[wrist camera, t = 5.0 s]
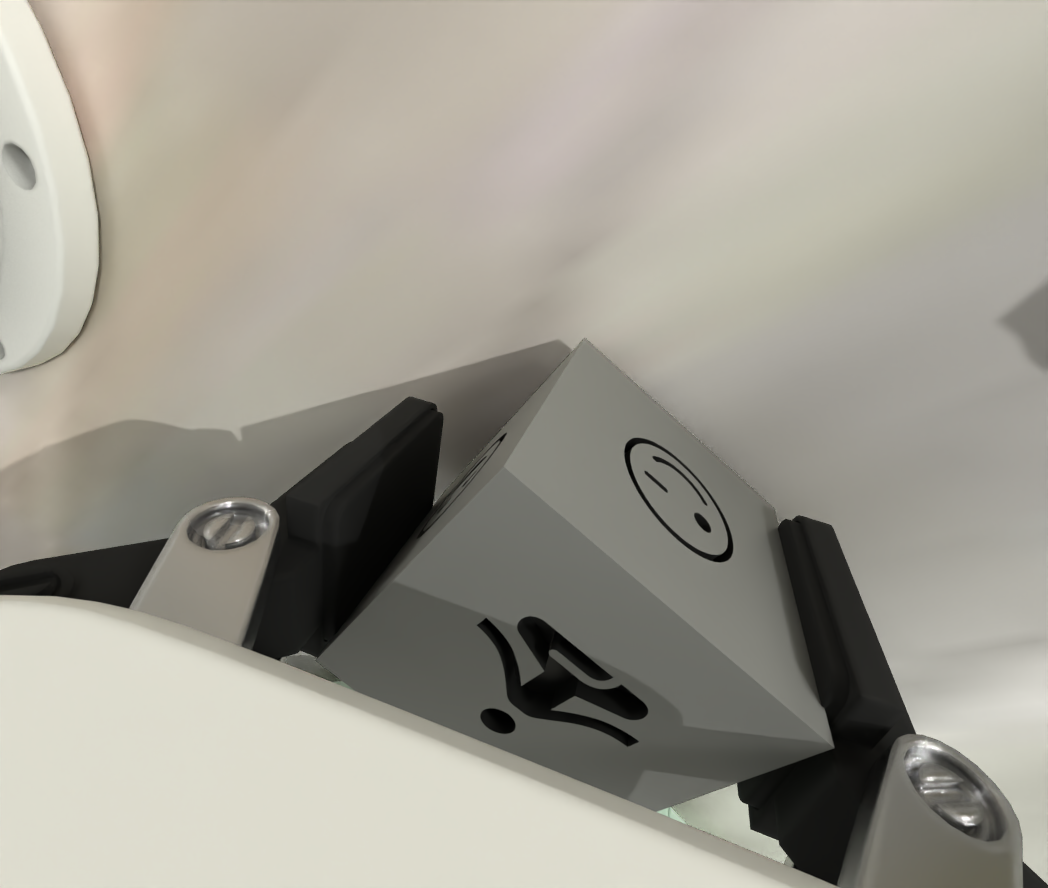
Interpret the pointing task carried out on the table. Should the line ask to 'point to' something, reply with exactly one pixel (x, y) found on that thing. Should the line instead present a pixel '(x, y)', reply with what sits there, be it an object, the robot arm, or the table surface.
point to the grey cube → (596, 603)
